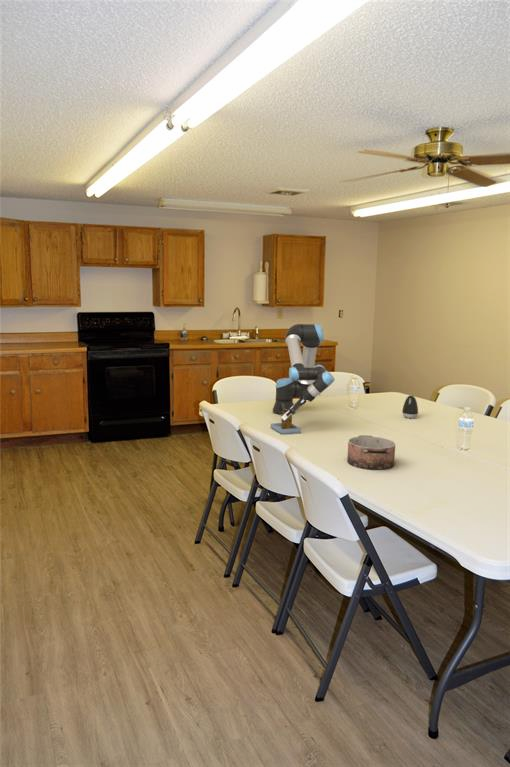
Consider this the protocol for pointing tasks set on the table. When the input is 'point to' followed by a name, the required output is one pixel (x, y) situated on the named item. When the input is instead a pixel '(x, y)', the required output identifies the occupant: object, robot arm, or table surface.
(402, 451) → the table surface
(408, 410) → the black bullet-shaped dome
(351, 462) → the cooking pot
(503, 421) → the table surface
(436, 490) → the table surface
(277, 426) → the tray
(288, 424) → the condiment
